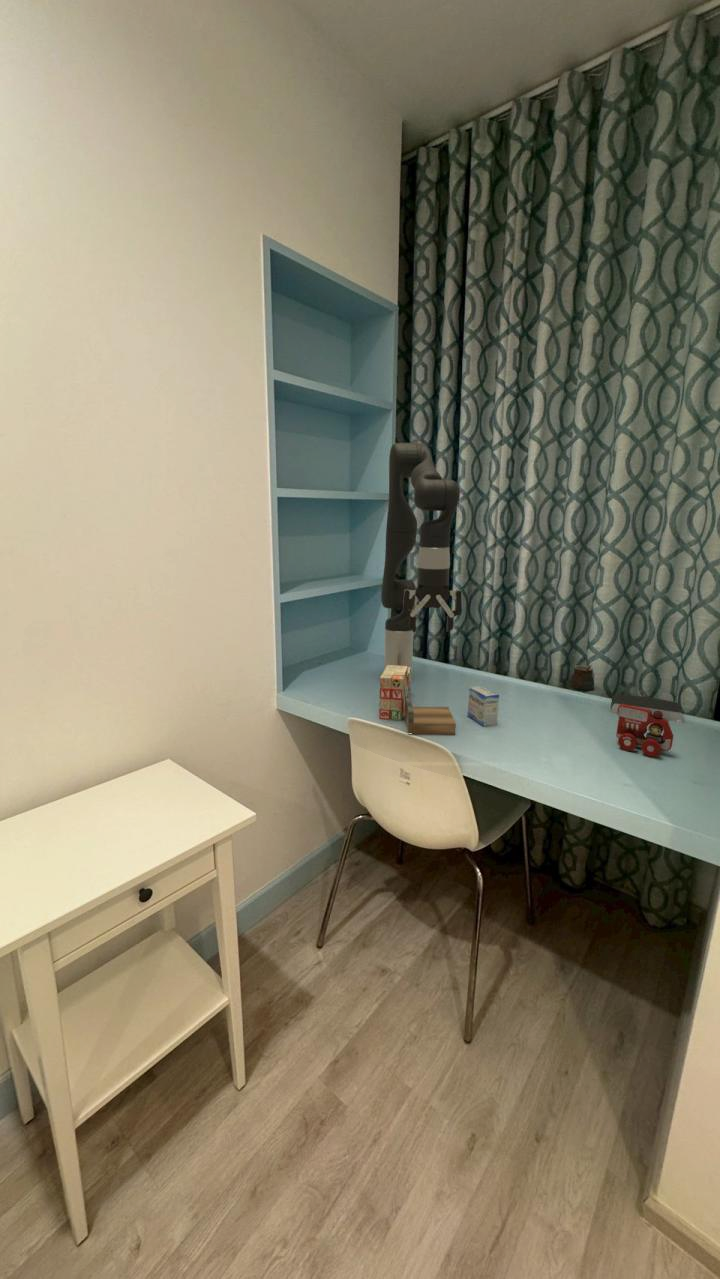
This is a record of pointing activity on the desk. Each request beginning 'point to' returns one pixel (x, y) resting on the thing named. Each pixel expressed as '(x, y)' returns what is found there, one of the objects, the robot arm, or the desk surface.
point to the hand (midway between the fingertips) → (430, 631)
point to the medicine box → (483, 706)
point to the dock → (428, 720)
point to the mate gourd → (582, 678)
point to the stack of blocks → (394, 691)
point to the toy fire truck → (643, 730)
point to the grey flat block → (650, 706)
